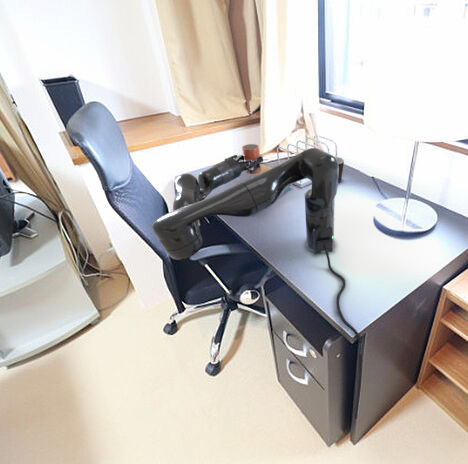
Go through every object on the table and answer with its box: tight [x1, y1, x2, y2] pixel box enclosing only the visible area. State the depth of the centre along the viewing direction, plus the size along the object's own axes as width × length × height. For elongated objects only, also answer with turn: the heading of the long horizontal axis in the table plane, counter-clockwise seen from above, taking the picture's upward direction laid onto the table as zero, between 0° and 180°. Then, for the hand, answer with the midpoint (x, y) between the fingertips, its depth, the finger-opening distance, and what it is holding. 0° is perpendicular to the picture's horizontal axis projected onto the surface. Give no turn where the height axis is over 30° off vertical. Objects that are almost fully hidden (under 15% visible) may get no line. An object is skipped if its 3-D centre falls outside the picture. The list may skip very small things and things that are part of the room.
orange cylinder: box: [241, 143, 262, 175], centre depth 127 cm, size 12×6×12 cm
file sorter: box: [276, 134, 338, 188], centre depth 151 cm, size 25×17×16 cm
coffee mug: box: [334, 156, 345, 184], centre depth 147 cm, size 12×9×10 cm
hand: (255, 156), depth 128 cm, fingers closed on orange cylinder, 6 cm apart
